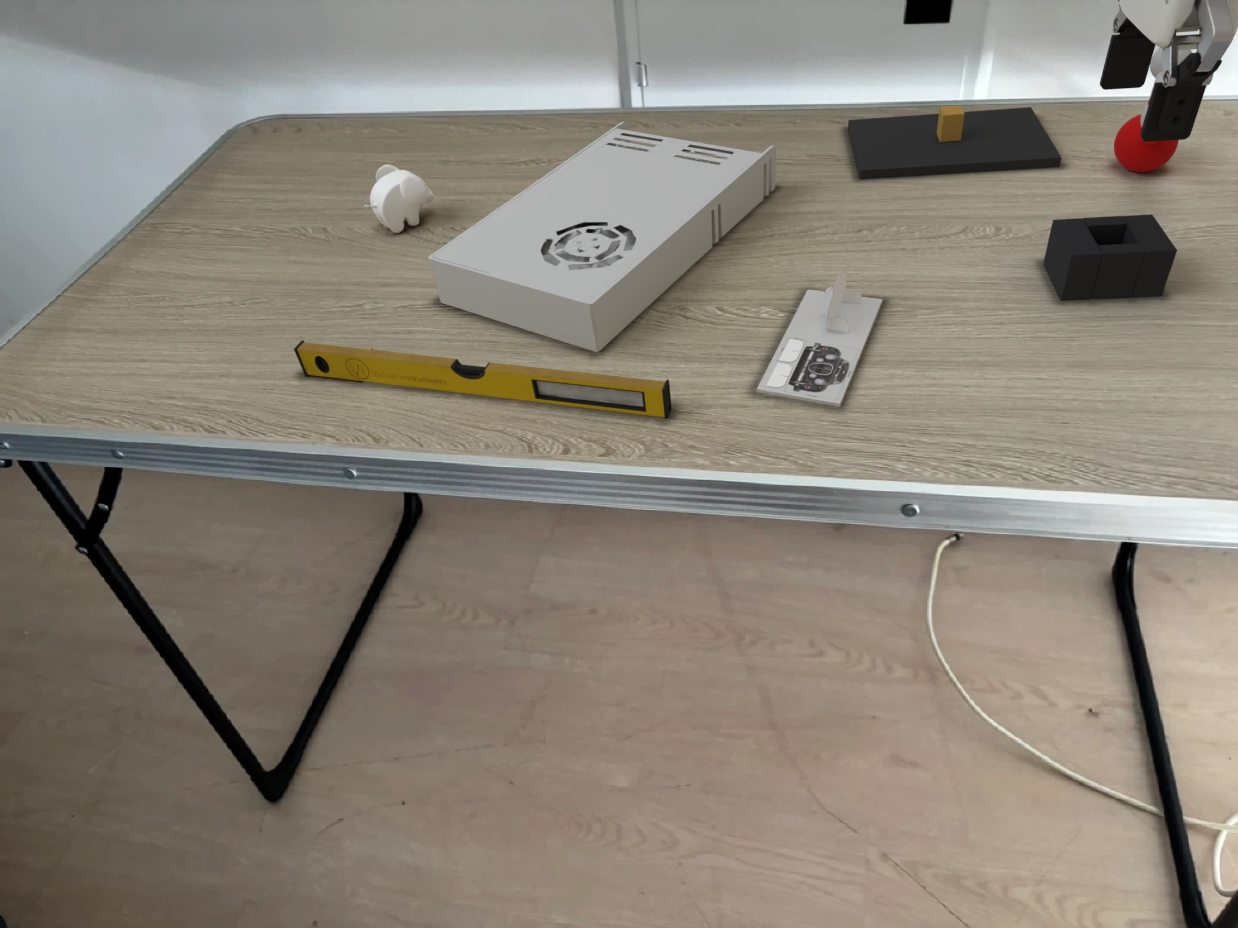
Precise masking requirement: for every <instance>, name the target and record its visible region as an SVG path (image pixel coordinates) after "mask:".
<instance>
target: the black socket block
mask: <svg viewBox="0 0 1238 928" xmlns="http://www.w3.org/2000/svg"><path fill="white" fill-rule="evenodd" d="M1177 252H1178V249H1177V248H1176V246H1175V245H1174V243H1173V242H1172V241H1171V239H1170V237H1169V236H1168V235H1167V233H1166V232H1165V230H1164V229H1163V228H1162V226H1161V225H1160V223H1159V222H1158V220H1157V219H1156V218H1155V216H1154V214H1150V213H1149V214H1134V215H1112V216H1109V215H1108V216H1094V217H1092V216H1091V217H1078V218H1060V219H1053V220H1052V223H1051V227H1050V232H1049V236H1048V241H1047V244H1046V249H1045V254H1044V257H1043V263H1042V265H1043V267H1044V270H1045V272H1046V274H1047V276H1048V278H1049V280H1050V282H1051V285H1052V286H1053V289H1054V291H1055V293H1056V295H1057V297H1058V299H1059V301H1061V302H1067V301H1069V302H1070V301H1071V302H1072V301H1090V300H1092V301H1094V300H1115V299H1117V300H1118V299H1135V298H1159V297H1160V298H1161V297H1163V294H1164V292H1165V288H1166V285H1167V282H1168V279H1169V277H1170V273H1171V270H1172V267H1173V265H1174V261H1175V258H1176V255H1177Z"/></svg>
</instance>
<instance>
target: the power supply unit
mask: <svg viewBox="0 0 1238 928" xmlns="http://www.w3.org/2000/svg"><path fill="white" fill-rule="evenodd" d="M633 142H634V143H633ZM639 143H641V144H639ZM643 144H645V145H643ZM646 144H647V145H646ZM649 145H651V146H649ZM776 154H777V148H776V146H775V145H769V147H768V148H766V149H765V150H764V151H762V152H757V151H751V150H746V149H741V148H740V149H738V148H733V147H727V146H721V145H715V144H711V143H704V142H698V141H692V140H686V139H681V138H675V137H669V136H664V135H657V134H651V133H645V132H640V131H635V130H629V122H627V121H621V122H619V123H618V124H616V125H615V126H614V127H612V128H611V129H610V130H608V131H607V132H605V133H604V134H602V135H600V136H599V137H598V138H596V139H595V140H593V141H592V142H591V143H589V144H587V145H586V146H585V147H583V148H582V149H581V150H579V151H578V152H576V153H575V154H573V155H572V156H571V157H569V158H568V159H566V160H565V161H563V162H562V163H560V164H558V165H557V166H556V167H554V168H553V169H552V170H550V171H549V172H547V173H546V174H544V176H542V177H540V178H538V179H537V180H536V181H535V182H533V183H532V184H530V185H529V186H527V187H526V188H525V189H523V190H522V191H520V192H518V194H516V195H515V196H513V197H511V198H510V199H509V200H508V201H506V202H504V203H503V204H502V205H500V206H499V207H497V208H496V209H495V210H493V211H492V212H490V213H489V214H487V215H486V216H484V217H483V218H481V219H480V220H479V221H477V222H476V223H474V224H473V225H471V226H470V227H469V228H468V229H466V230H464V231H463V232H462V233H460V234H458V235H457V236H456V237H454V238H453V239H452V240H450V241H449V242H447V243H446V244H445V245H443V246H441V247H440V248H438V249H437V250H436V251H435V252H432V254H430V255H429V256H427V258H428V261H429V265H430V266H429V267H430V268H431V273H432V276H433V279H434V284H435V288H436V291H437V295H438V298H439V302H440V303H441V304H442V305H443V304H445V305H447V306H451V307H453V308H456V309H460V310H462V311H466V312H469V313H472V314H475V315H479V316H482V317H485V318H488V319H491V320H493V321H497V322H500V323H503V324H507V325H509V326H513V327H516V328H519V329H522V330H526V331H529V332H532V333H534V334H538V335H542V336H544V337H548V338H551V339H554V340H557V341H559V342H563V343H566V344H569V345H572V346H576V347H579V348H581V349H585V350H588V351H592V352H594V353H599V352H601V351H602V350H603V349H604V348H605V347H606V346H607V345H608V344H610V342H611V341H612V340H613V339H614V338H616V337H617V336H618V335H619V334H620V333H621V332H622V331H623V330H624V329H625V328H626V327H627V326H629V325H630V324H631V323H632V322H633V321H634V320H635V319H636V318H638V316H640V315H641V313H643V312H644V311H645V310H646V309H647V308H648V307H649V306H651V304H653V303H654V302H655V301H656V300H657V299H658V298H659V297H660V296H662V294H663V293H664V292H665V291H667V290H668V289H669V288H670V287H671V286H672V285H673V284H674V283H675V282H677V280H679V279H680V278H681V277H682V276H683V275H684V274H685V273H686V272H688V270H689V269H690V268H691V267H692V266H694V265H695V264H696V263H697V262H698V261H699V260H700V259H701V258H702V257H703V256H705V254H707V253H708V252H709V251H710V250H711V249H712V248H713V245H715V244H717V243H718V242H719V241H720V239H722V238H723V237H724V236H725V235H726V234H727V233H729V232H730V231H731V230H732V229H733V228H734V227H735V226H736V225H737V224H738V223H739V222H740V221H741V220H743V219H744V218H745V217H746V216H747V215H749V213H751V212H752V211H753V210H754V209H755V208H756V207H757V206H758V205H759V204H760V203H761V202H763V200H764V198H765V197H768V196H769V194H770V193H771V192H773V191H774V190H775V189H776V168H777V167H776V159H777V158H776V157H777V155H776ZM709 161H710V162H709Z"/></svg>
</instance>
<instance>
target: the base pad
mask: <svg viewBox="0 0 1238 928" xmlns="http://www.w3.org/2000/svg"><path fill="white" fill-rule="evenodd" d="M847 131H848V135H849V140H850V145H851V148H852V153H853V157H854V161H855V166H856V170H857V175H858V178H859V179H858V180H860V181H861V180H872V179H873V180H877V179H890V178H892V179H893V178H908V177H909V178H910V177H922V176H938V175H940V176H941V175H955V174H971V173H987V172H1003V171H1019V170H1036V169H1053V168H1060V166H1061V162H1062V156H1061V154H1060V153H1059V151H1058V149H1057V148H1056V146H1055V144H1054V143H1053V141H1052V140H1051V138H1050V136H1049V134H1048V133H1047V131H1046V130H1045V128H1044V126H1043V124H1042V123H1041V121H1040V120H1039V118H1038V117H1037V114H1036V113H1035V111H1034V109H1033V108H1032V107H1031V106H1026V107H1015V108H1014V107H1013V108H1012V107H1011V108H999V109H985V110H971V111H964V110H963V108H962V105H949V106H940V107H939V111H938V113H930V114H929V113H928V114H927V113H926V114H916V115H915V114H914V115H899V116H887V117H874V118H873V117H872V118H859V119H858V118H857V119H856V118H855V119H848V120H847Z"/></svg>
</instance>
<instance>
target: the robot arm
mask: <svg viewBox="0 0 1238 928" xmlns="http://www.w3.org/2000/svg"><path fill="white" fill-rule="evenodd" d="M1117 1H1118V5H1119V6H1118V7H1119V11H1118V12H1117V14H1116V15H1115V16H1114V18H1113V21H1112V33H1113V34H1111V36H1110V39H1109V40H1110V41H1109V44H1108V49H1107V53H1106V57H1105V62H1104V63H1103V68H1102V73H1101V77H1100V81H1099V86H1100V87H1101V89H1102V90H1105V91H1107V90H1108V91H1109V90H1123V89H1139V88H1141V87H1143V86H1144V85H1145V83H1146V80H1147V77H1148V73H1149V70H1150V63H1151V59H1152V56H1153V55H1154V53H1155V48H1156V46H1157V47H1158V48H1162V82H1156V83H1155V84H1154V83H1153V85H1154V88H1153V87H1152V88H1153V91H1152V90H1151V91H1152V95H1151V94H1150V95H1151V98H1150V97H1149V98H1150V102H1149V105H1148V109H1147V112H1146V115H1145V119H1144V122H1143V126H1142V129H1141V133H1140V137H1141V138H1142V139H1143V141H1145V142H1150V141H1169V140H1179V141H1185V140H1187V139H1188V138H1189V137H1190V136H1191V134H1192V132H1193V129H1194V125H1195V122H1196V119H1197V117H1198V114H1199V110H1200V107H1201V104H1202V101H1203V98H1204V94H1205V93H1206V88H1207V86H1209V85H1211V83H1212V81H1213V78H1214V73H1215V72H1216V71H1217V70H1218V69H1220V66H1221V64H1222V62H1223V60H1222V58H1223V56H1225V53H1226V52H1227V50H1228V49H1229V48H1230V45H1231V44H1232V42H1233V41H1234V38H1235V37H1236V34H1237V32H1238V0H1117ZM1198 31H1199V32H1198ZM1190 32H1198V33H1196V34H1178V35H1177V33H1190ZM1178 50H1191V51H1192V50H1196V51H1195V52H1192V53H1190V54H1189V55H1188V56H1187V57H1186V58H1185V59H1184V60H1183V61H1182V62H1181V63H1180V64H1179V65H1178Z"/></svg>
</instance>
